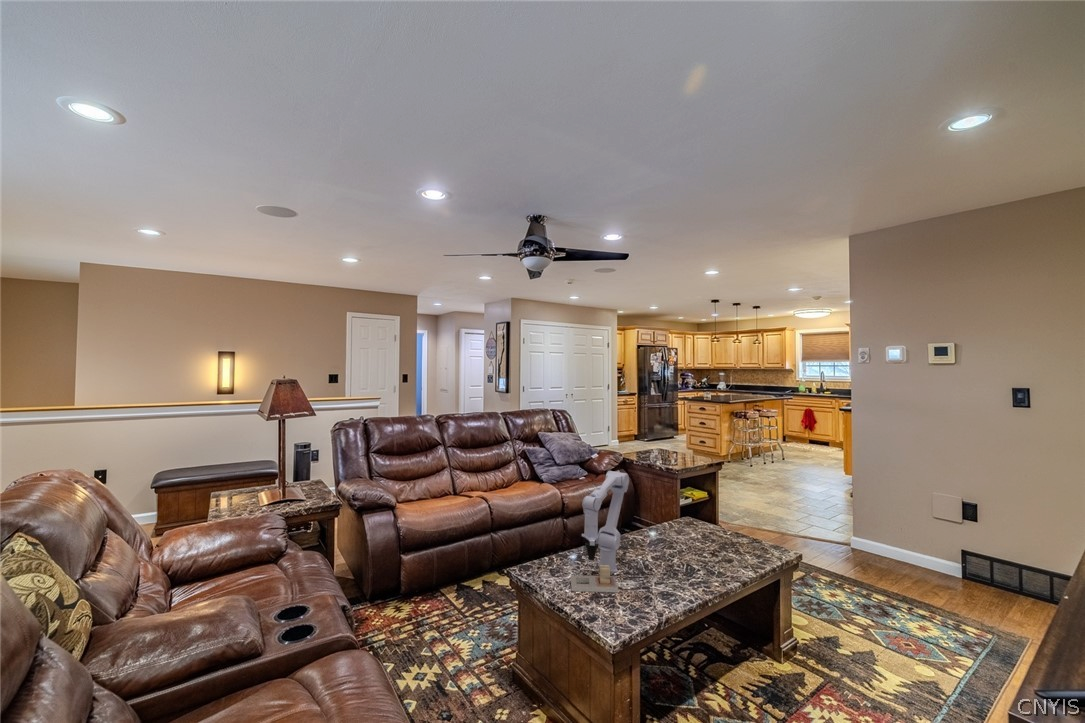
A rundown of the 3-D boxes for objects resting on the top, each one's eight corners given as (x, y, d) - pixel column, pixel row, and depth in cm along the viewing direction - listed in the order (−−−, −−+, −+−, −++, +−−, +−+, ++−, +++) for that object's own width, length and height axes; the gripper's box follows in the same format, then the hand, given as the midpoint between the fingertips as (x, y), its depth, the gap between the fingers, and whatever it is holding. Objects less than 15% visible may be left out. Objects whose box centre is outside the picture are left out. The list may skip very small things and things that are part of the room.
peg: (599, 584, 191) (599, 565, 191) (608, 584, 191) (609, 565, 191) (600, 588, 187) (600, 569, 187) (609, 588, 187) (610, 569, 187)
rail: (570, 579, 194) (570, 574, 194) (614, 581, 194) (614, 575, 194) (571, 591, 184) (571, 585, 184) (618, 592, 184) (618, 587, 184)
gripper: (580, 518, 202) (580, 549, 201) (582, 529, 187) (582, 562, 187) (596, 519, 202) (596, 549, 201) (599, 530, 187) (599, 563, 187)
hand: (590, 556), depth 194 cm, fingers open, 7 cm apart
